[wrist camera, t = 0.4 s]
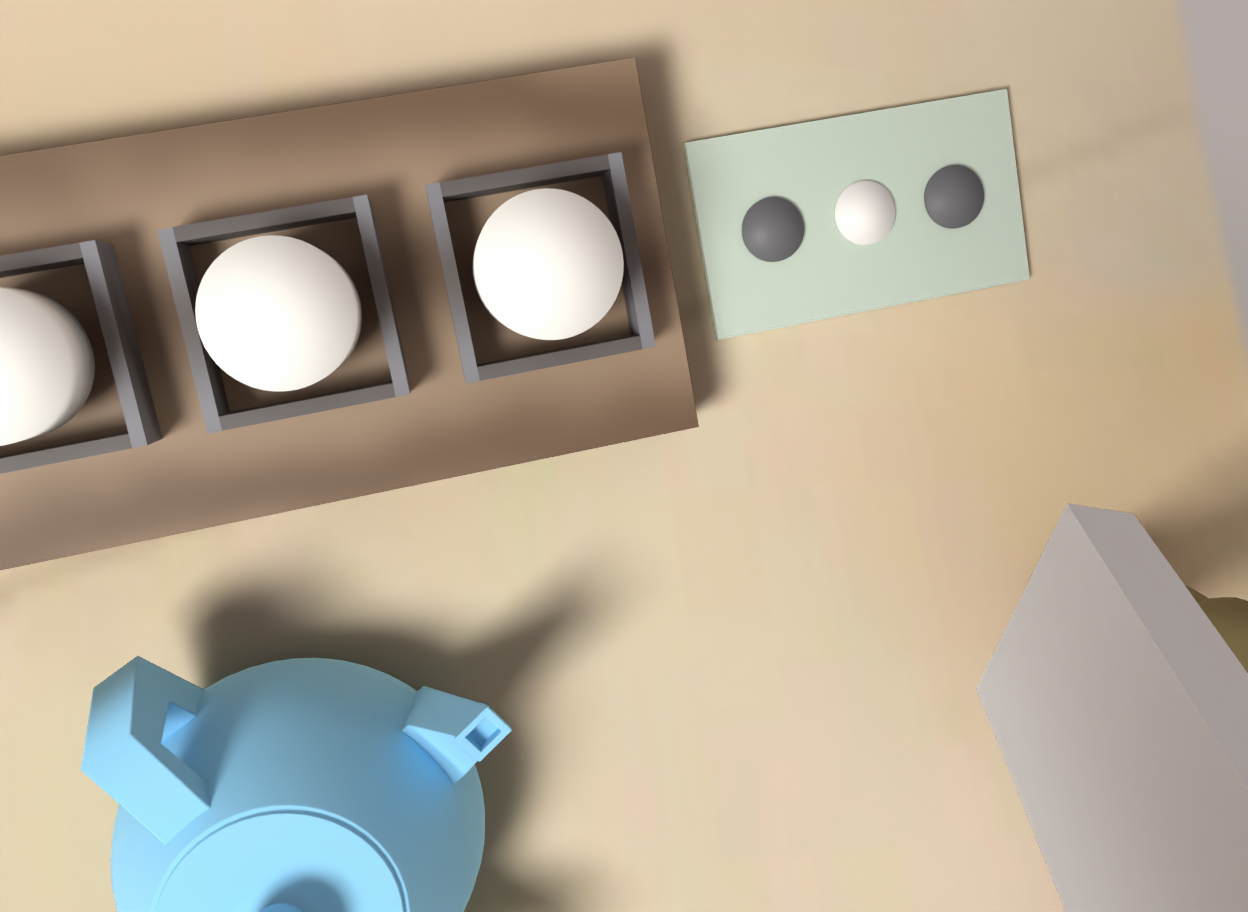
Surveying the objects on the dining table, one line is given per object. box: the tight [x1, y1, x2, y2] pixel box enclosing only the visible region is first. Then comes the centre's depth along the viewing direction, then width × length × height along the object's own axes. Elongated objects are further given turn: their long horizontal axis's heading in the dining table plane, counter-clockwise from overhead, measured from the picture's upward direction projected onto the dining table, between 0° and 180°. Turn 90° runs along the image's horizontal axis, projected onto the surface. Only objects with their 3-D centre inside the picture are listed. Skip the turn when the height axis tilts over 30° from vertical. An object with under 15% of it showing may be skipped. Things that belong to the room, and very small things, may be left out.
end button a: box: [473, 188, 624, 340], centre depth 37 cm, size 5×5×2 cm
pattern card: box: [683, 89, 1030, 340], centre depth 45 cm, size 8×14×1 cm, turn 100°
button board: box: [0, 58, 699, 570], centre depth 39 cm, size 14×28×5 cm, turn 100°
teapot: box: [81, 656, 512, 912], centre depth 39 cm, size 15×15×11 cm
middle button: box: [195, 235, 362, 391], centre depth 36 cm, size 5×5×2 cm
